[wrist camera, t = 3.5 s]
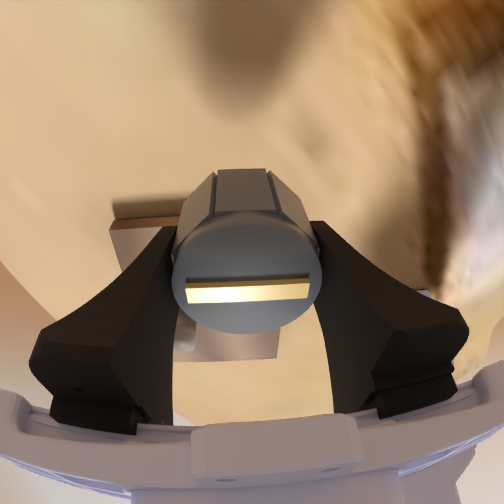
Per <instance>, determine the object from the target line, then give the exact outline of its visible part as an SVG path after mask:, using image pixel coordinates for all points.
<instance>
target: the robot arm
mask: <svg viewBox="0 0 504 504" xmlns="http://www.w3.org/2000/svg"><path fill="white" fill-rule="evenodd" d="M309 222H310V225H311V227H312V230H313V232H314V235H315V237H316V240H317V242H318V246H319V248H320V251H319V256H318V259H319V262H320V265H321V270H322V283H321V287H320V291H319V293H318V295H317V297H316V299H315V301H314V302H313V303H314V306H315V309H316V312H317V315H318V318H319V322H320V325H321V328H322V332H323V336H324V341H325V347H326V352H327V358H328V365H329V371H330V378H331V387H332V395H333V406H334V414H322V415H315V416H308V417H299V418H290V419H280V420H268V421H254V422H232V423H219V424H209V425H205V426H173V407H172V370H173V346H174V336H175V329H176V324H177V318H178V313H179V307H180V306H179V305H178V303H177V301H176V299H175V297H174V294H173V290H172V274H173V268H174V266H173V261H172V256H171V253H172V248H173V245H174V241H175V237H176V232H177V228H178V226H163V227H162V228H161V229H160V230H159V231H158V232H157V234H156V235H155V236H154V237H153V239H152V240H151V241H150V242H149V243H148V245H147V246H146V247H145V248H144V249H143V250H142V252H141V253H140V254H139V255H138V256H137V257H136V259H135V260H134V261H133V262H132V263H131V264H130V265H129V266H128V267H127V268H126V269H125V270H124V271H123V272H122V273H121V274H120V275H119V276H118V277H117V278H116V279H115V280H114V281H113V282H112V283H111V284H109V285H108V286H107V287H106V288H105V289H104V290H102V291H101V292H100V293H98V294H97V295H96V296H95V297H93V298H92V299H91V300H89V301H88V302H87V303H85V304H84V305H83V306H81V307H80V308H78V309H77V310H75V311H74V312H72V313H70V314H69V315H67V316H66V317H64V318H62V319H60V320H58V321H57V322H55V323H53V324H51V325H49V326H48V327H46V328H44V329H42V330H41V331H40V334H39V336H38V338H37V341H36V344H35V346H34V349H33V351H32V354H31V357H30V360H29V367H30V370H31V372H32V373H33V375H34V376H35V377H36V378H37V380H38V381H39V382H40V383H41V384H42V385H43V386H44V387H45V388H46V389H47V390H48V391H49V392H50V393H51V394H52V395H53V400H52V404H51V408H50V410H49V409H45V408H41V407H37V406H32V405H31V404H30V403H29V402H28V401H27V400H26V399H25V398H24V397H22V396H21V395H19V394H17V393H14V392H10V391H7V390H4V389H0V457H2V458H4V459H5V460H7V461H9V462H11V463H13V464H15V465H16V466H18V467H20V468H23V469H26V470H28V471H31V472H34V473H36V474H39V475H42V476H45V477H47V478H50V479H53V480H56V481H59V482H62V483H65V484H69V485H72V486H75V487H79V488H82V489H86V490H90V491H93V492H97V493H102V494H106V495H110V496H115V497H120V498H125V499H130V500H131V504H461V502H460V498H459V494H458V490H457V487H456V482H457V480H458V479H459V477H460V476H461V474H462V473H463V472H464V470H465V469H466V467H467V466H468V465H469V463H470V461H471V460H472V458H473V457H474V455H475V448H476V446H477V444H478V443H479V442H481V441H483V440H485V439H487V438H489V437H490V436H491V435H493V434H495V433H496V432H497V431H499V430H500V429H502V428H503V427H504V361H503V360H501V361H498V362H496V363H494V364H491V365H488V366H486V367H484V368H483V369H481V370H480V371H479V372H478V373H477V374H476V375H475V376H474V377H473V379H472V380H470V381H467V382H464V383H462V384H459V385H456V382H455V380H454V378H453V377H452V374H451V373H453V371H454V366H453V364H454V357H455V356H456V355H457V354H458V352H459V351H460V350H461V349H462V347H463V346H464V344H465V343H466V341H467V339H468V336H469V327H468V326H467V324H466V322H465V320H464V319H463V317H462V315H461V313H460V312H459V310H458V309H456V308H454V307H451V306H449V305H446V304H443V303H441V302H438V301H436V300H433V299H431V298H429V296H430V291H429V290H420V291H415V290H413V289H411V288H409V287H408V286H406V285H404V284H402V283H401V282H399V281H397V280H396V279H394V278H392V277H391V276H389V275H388V274H387V273H385V272H384V271H382V270H381V269H379V268H378V267H376V266H375V265H374V264H372V263H371V262H370V261H369V260H367V259H366V258H365V257H364V256H362V255H361V254H360V253H359V252H358V251H356V250H355V249H354V248H353V247H352V246H351V245H350V244H348V243H347V242H346V241H345V240H344V239H343V238H342V237H341V236H340V235H339V234H337V233H336V232H335V231H334V230H333V229H332V228H331V227H330V226H329V225H328V224H326V223H325V222H324V221H309Z"/></svg>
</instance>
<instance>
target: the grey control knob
mask: <svg viewBox="0 0 504 504" xmlns="http://www.w3.org/2000/svg"><path fill="white" fill-rule="evenodd" d="M319 251H320V248H319V246H318V242H317V240H316V237H315V235H314V232H313V230H312V227H311V225H310V222H309V220H308V217H307V215H306V212H305V210H304V207H303V205H302V203H301V200H300V198H299V197H298V196H297V195H296V194H295V193H294V192H293V191H291V190H290V189H289V188H288V187H287V186H286V185H285V184H284V183H283V182H282V181H281V180H280V179H279V178H278V177H277V176H276V175H275V174H274V173H272V172H271V171H269V172H268V173H266V170H265V168H264V169H226V170H218V175H216V174H215V173H214V172H212V173H211V174H210V175H209V176H208V177H207V178H206V179H205V180H204V182H203V183H202V184H201V185H200V186H199V187H198V188H197V189H196V190H195V191H194V192H193V193H192V194H191V195H190V196H189V197H188V198H187V199H186V200H185V201H184V202H183V206H182V209H181V213H180V217H179V222H178V228H177V232H176V237H175V241H174V245H173V248H172V253H171V256H172V261H173V266H174V268H173V274H172V290H173V294H174V297H175V299H176V301H177V303H178V305H179V306H180V307H181V309H182V310H183V311H184V312H185V313H186V314H187V315H188V316H189V317H190V318H192V319H193V320H194V321H196V322H198V323H199V324H201V325H203V326H205V327H207V328H210V329H213V330H216V331H220V332H225V333H231V334H255V333H261V332H266V331H270V330H274V329H276V328H279V327H282V326H284V325H286V324H288V323H290V322H292V321H293V320H295V319H297V318H298V317H299V316H301V315H302V314H303V313H304V312H305V311H306V310H307V309H308V308H309V307H310V306H311V305H312V304H313V302H314V301H315V299H316V297H317V295H318V293H319V291H320V287H321V283H322V270H321V265H320V262H319V259H318V256H319Z"/></svg>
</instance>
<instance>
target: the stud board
mask: <svg viewBox="0 0 504 504" xmlns="http://www.w3.org/2000/svg"><path fill="white" fill-rule="evenodd" d="M179 217H180V216H171V217H156V218H141V219H127V220H114V221H113V223H112V225H111V227H110V229H109V233H110V236H111V239H112V243H113V246H114V249H115V252H116V255H117V258H118V261H119V264H120V267H121V270H122V272H123V271H124V270H125V269H126V268H127V267H128V266H129V265H130V264H131V263H132V262H133V261H134V260H135V259H136V257H137V256H138V255H139V254H140V253H141V252H142V250H143V249H144V248H145V247H146V246H147V245H148V243H149V242H150V241H151V240H152V239H153V237H154V236H155V235H156V234H157V232H158V231H159V230H160V229H161V228H162V227H163V226H178V222H179ZM279 333H280V327H279V328H276V329H274V330H270V331H266V332H261V333H255V334H231V333H225V332H220V331H216V330H213V329H210V328H207V327H205V326H203V325H201V324H199V323H198V322H196V321H194V320H193V319H192V318H190V317H189V316H188V315H187V314H186V313H185V312H184V311H183V310H182V309H181V307H179V313H178V318H177V324H176V329H175V336H174V346H173V362H213V361H241V360H259V359H273V358H277V350H278V342H279Z"/></svg>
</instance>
